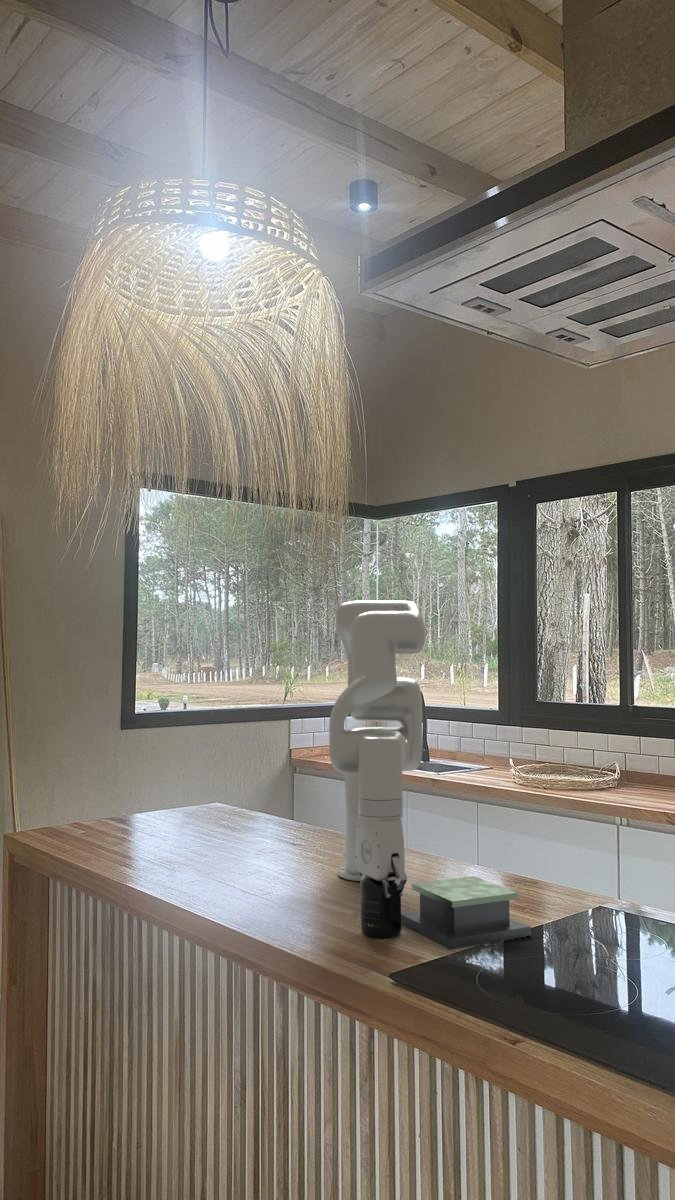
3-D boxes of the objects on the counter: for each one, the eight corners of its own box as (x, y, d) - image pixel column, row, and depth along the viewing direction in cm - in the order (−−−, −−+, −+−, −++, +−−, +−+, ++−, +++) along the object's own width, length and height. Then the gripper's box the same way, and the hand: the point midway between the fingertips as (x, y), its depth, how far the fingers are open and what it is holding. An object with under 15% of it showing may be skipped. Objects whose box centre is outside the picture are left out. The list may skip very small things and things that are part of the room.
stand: (400, 923, 158) (400, 882, 159) (476, 912, 165) (476, 873, 166) (449, 949, 144) (449, 904, 145) (531, 936, 151) (530, 893, 151)
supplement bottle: (377, 925, 157) (376, 855, 158) (409, 933, 153) (408, 861, 154) (352, 934, 152) (352, 862, 153) (385, 942, 148) (384, 868, 148)
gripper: (338, 802, 160) (339, 905, 159) (385, 817, 144) (385, 932, 143) (376, 799, 163) (376, 900, 162) (425, 814, 147) (426, 926, 146)
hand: (381, 914), depth 153 cm, fingers closed on supplement bottle, 6 cm apart
